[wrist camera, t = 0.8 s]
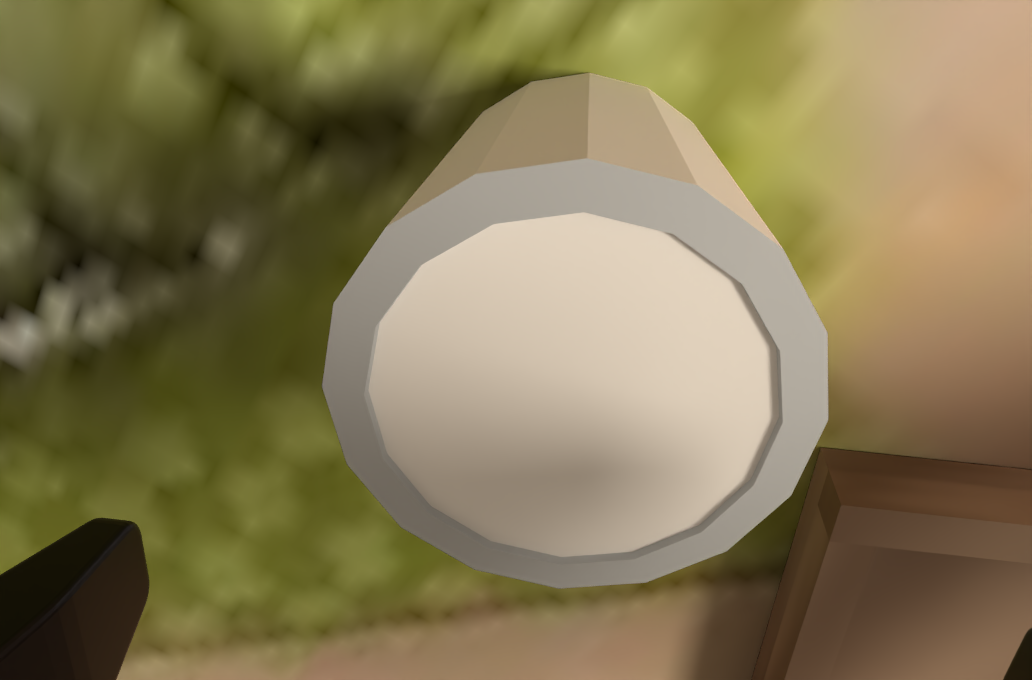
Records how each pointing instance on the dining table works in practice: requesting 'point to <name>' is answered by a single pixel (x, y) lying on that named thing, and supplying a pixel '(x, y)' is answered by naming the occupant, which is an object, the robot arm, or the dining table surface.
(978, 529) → the walnut tray
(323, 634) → the dining table surface
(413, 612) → the dining table surface
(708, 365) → the shot glass
